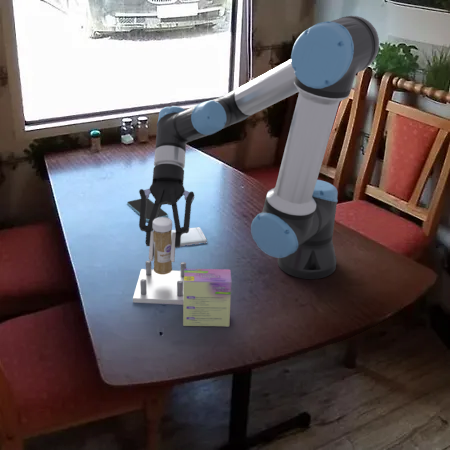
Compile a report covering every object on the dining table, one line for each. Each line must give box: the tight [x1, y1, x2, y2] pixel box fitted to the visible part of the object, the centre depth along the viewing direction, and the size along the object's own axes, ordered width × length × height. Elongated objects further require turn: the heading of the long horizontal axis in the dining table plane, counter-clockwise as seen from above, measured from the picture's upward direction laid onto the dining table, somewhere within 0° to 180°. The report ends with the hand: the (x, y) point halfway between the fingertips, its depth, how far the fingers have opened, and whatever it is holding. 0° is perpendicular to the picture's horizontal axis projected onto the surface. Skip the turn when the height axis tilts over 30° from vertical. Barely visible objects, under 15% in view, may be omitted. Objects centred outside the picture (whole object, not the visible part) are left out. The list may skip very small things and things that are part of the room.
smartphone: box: [126, 198, 169, 223], centre depth 194 cm, size 7×1×15 cm
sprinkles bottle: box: [153, 217, 173, 274], centre depth 152 cm, size 5×5×14 cm
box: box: [182, 268, 232, 328], centre depth 143 cm, size 10×6×12 cm, turn 92°
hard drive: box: [171, 226, 208, 247], centre depth 179 cm, size 2×8×12 cm
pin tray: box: [132, 260, 187, 306], centre depth 155 cm, size 13×13×5 cm
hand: (161, 259), depth 151 cm, fingers closed on sprinkles bottle, 4 cm apart
